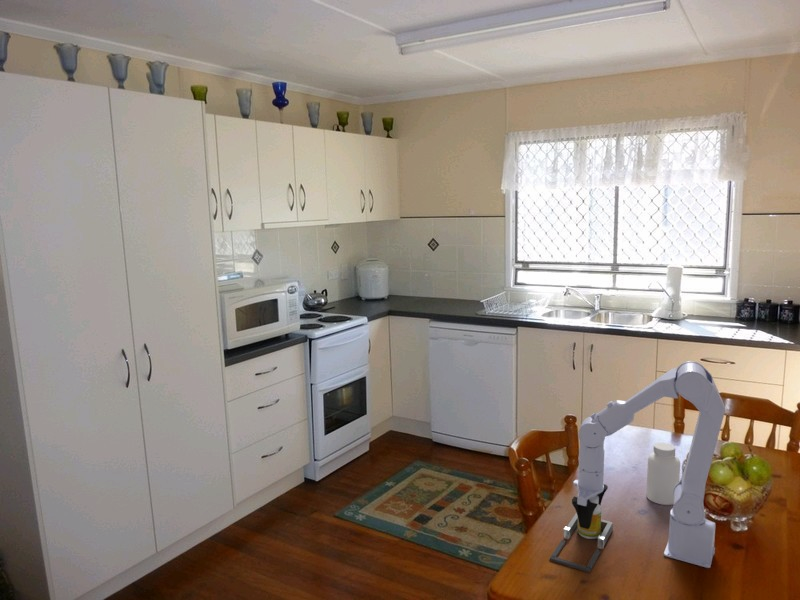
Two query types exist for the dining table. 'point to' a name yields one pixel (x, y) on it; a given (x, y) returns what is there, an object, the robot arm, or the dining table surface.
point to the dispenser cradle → (602, 539)
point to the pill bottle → (662, 474)
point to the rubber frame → (572, 564)
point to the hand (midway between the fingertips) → (589, 520)
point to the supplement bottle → (592, 522)
